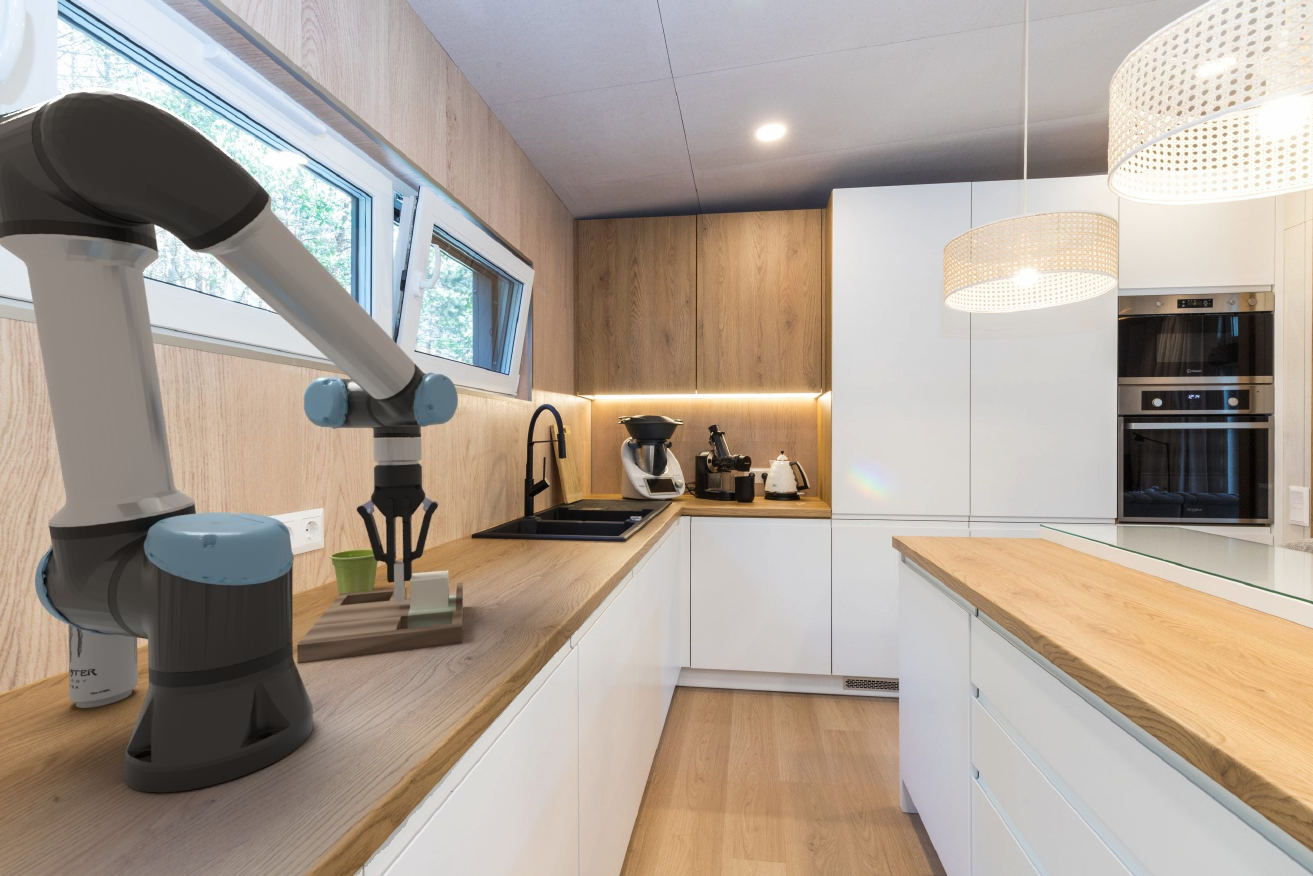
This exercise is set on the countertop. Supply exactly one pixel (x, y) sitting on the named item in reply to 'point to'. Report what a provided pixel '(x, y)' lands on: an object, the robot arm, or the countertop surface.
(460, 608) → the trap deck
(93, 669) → the energy drink can
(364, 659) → the countertop surface
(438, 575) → the block
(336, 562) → the plant pot
